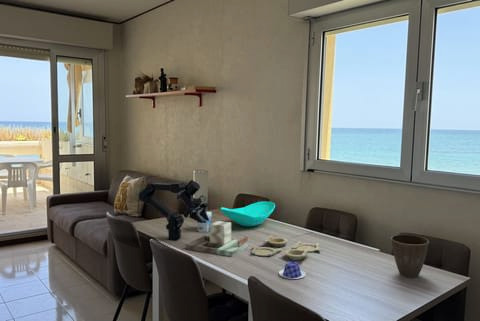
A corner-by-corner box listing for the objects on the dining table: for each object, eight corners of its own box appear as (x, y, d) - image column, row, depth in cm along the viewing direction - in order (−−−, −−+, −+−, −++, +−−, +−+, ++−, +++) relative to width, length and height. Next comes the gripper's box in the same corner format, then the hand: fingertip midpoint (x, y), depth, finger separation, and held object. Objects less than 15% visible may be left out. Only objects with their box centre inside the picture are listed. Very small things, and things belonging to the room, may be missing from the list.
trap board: (186, 248, 203) (185, 238, 203) (204, 239, 220) (204, 230, 220) (232, 256, 191) (232, 245, 190) (248, 245, 208) (248, 236, 207)
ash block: (209, 242, 207) (209, 224, 206) (217, 238, 214) (216, 220, 213) (224, 244, 203) (224, 225, 202) (231, 240, 210) (231, 222, 209)
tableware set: (325, 247, 205) (325, 240, 205) (312, 265, 179) (312, 257, 179) (265, 239, 220) (265, 233, 220) (244, 255, 194) (244, 247, 193)
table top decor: (259, 217, 274) (259, 199, 273) (284, 225, 251) (285, 205, 250) (212, 225, 252) (211, 205, 250) (235, 235, 229) (235, 213, 228)
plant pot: (409, 284, 156) (410, 246, 154) (382, 271, 169) (383, 236, 168) (435, 278, 162) (436, 241, 160) (407, 266, 175) (408, 233, 174)
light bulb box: (207, 232, 235) (207, 215, 234) (197, 231, 237) (196, 214, 236) (212, 227, 246) (212, 211, 245) (202, 227, 247) (202, 211, 246)
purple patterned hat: (288, 267, 176) (288, 256, 175) (311, 274, 168) (311, 262, 168) (273, 275, 166) (273, 264, 166) (296, 282, 159) (297, 270, 158)
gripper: (187, 193, 204) (205, 216, 200) (205, 188, 221) (222, 209, 217) (175, 206, 208) (192, 228, 204) (194, 200, 225) (210, 221, 221)
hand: (205, 221), depth 212 cm, fingers open, 6 cm apart
